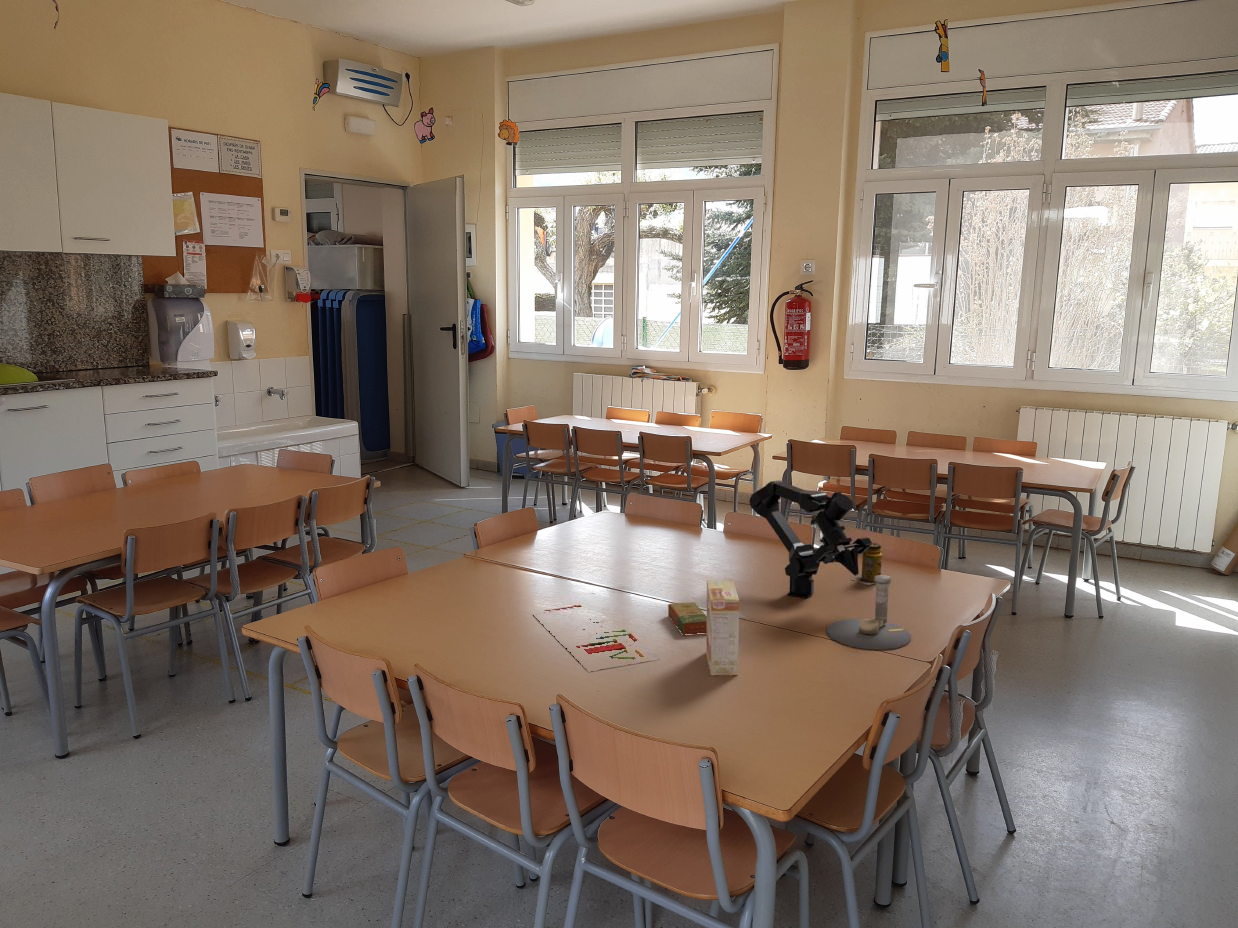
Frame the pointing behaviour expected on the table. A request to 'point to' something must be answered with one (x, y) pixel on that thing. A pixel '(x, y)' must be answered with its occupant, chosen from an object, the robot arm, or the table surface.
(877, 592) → the crank handle
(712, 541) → the table surface
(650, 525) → the table surface
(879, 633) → the dial plate
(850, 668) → the table surface
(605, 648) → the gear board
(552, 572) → the table surface
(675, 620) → the carton
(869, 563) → the condiment
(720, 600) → the coffeecake box
